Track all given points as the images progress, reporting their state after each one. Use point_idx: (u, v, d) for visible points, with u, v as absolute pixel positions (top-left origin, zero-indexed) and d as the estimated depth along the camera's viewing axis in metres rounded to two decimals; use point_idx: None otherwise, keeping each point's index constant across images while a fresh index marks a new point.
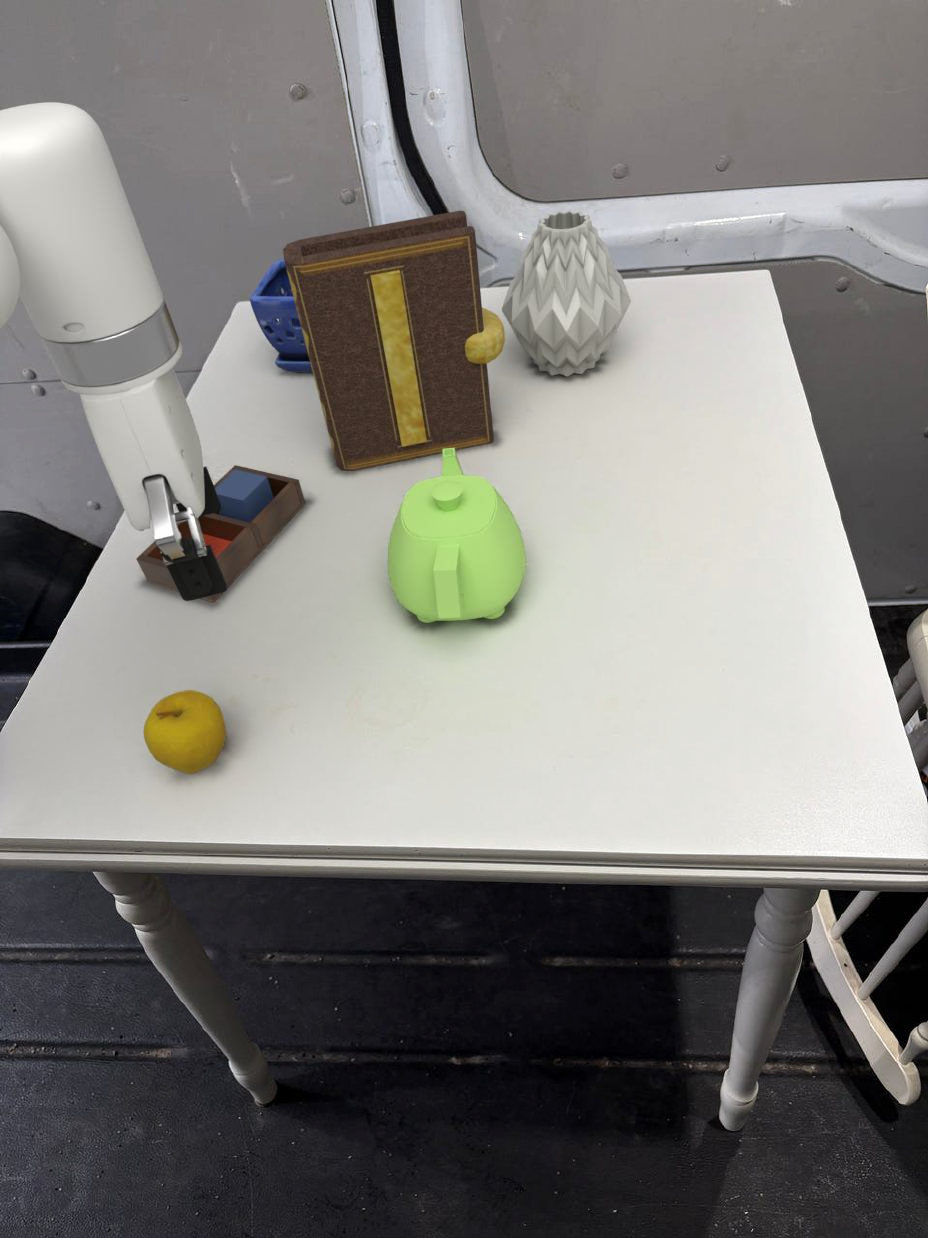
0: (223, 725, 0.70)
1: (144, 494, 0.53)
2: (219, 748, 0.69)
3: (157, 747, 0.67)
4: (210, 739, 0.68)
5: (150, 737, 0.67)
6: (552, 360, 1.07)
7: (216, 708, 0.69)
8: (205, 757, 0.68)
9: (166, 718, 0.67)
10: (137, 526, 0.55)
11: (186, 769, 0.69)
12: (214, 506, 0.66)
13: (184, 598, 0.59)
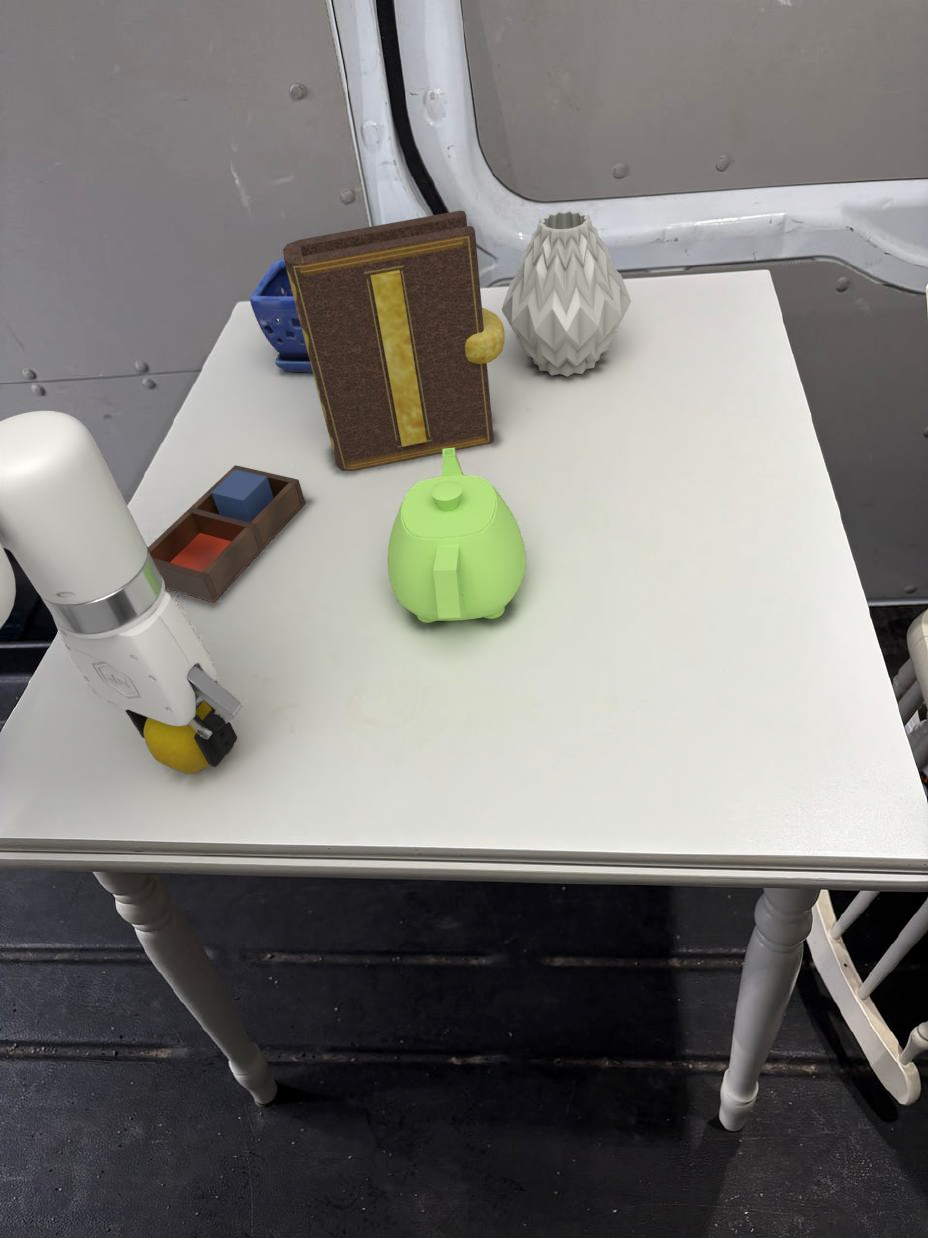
0: None
1: (190, 687, 0.61)
2: None
3: (157, 747, 0.67)
4: None
5: (150, 737, 0.67)
6: (552, 360, 1.07)
7: None
8: None
9: None
10: (187, 720, 0.62)
11: (186, 769, 0.69)
12: None
13: (214, 765, 0.68)
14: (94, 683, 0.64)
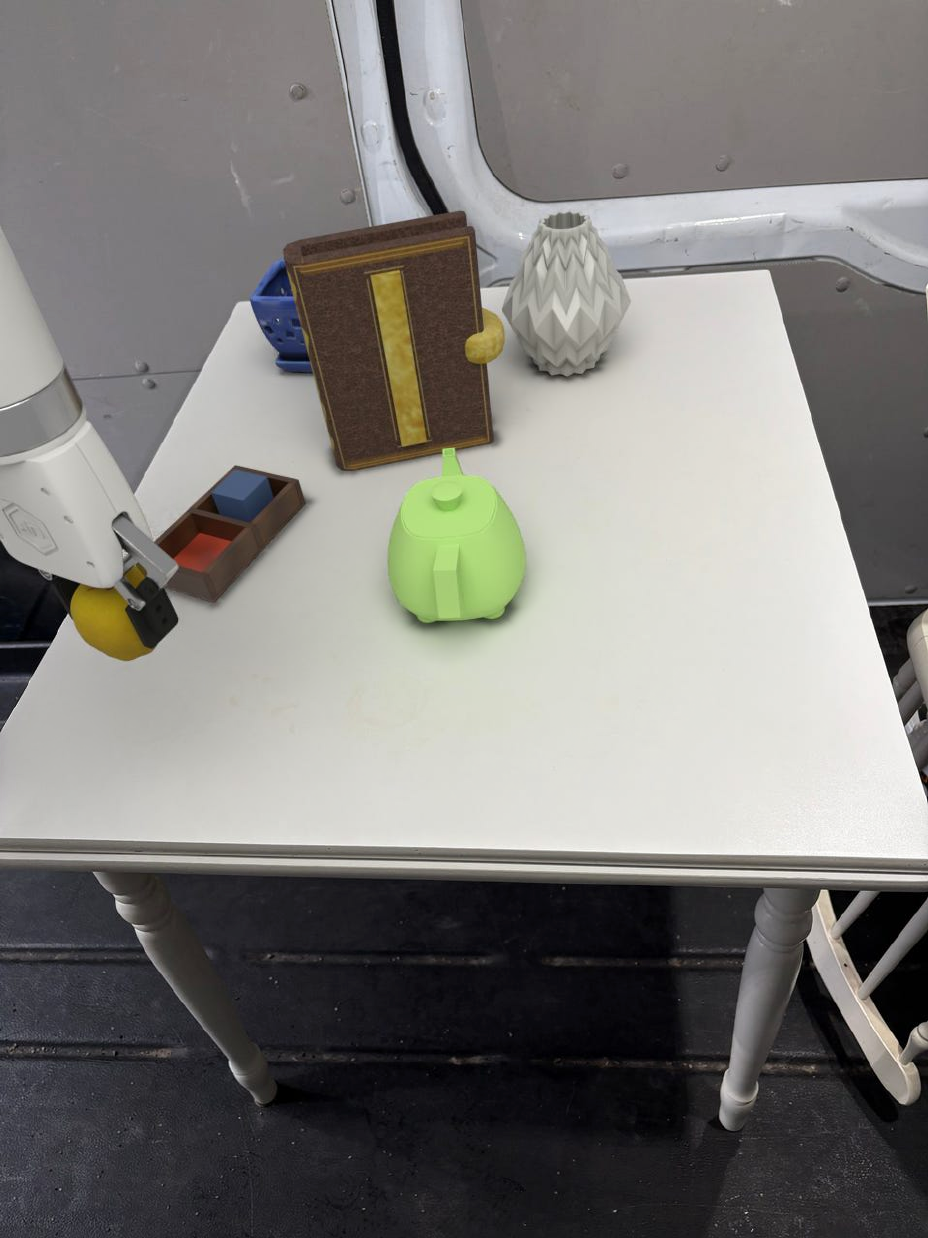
0: None
1: (115, 539, 0.52)
2: None
3: (84, 622, 0.58)
4: None
5: (77, 611, 0.58)
6: (552, 360, 1.07)
7: None
8: None
9: (95, 590, 0.58)
10: (113, 579, 0.53)
11: (119, 652, 0.60)
12: None
13: (150, 646, 0.59)
14: (9, 540, 0.55)
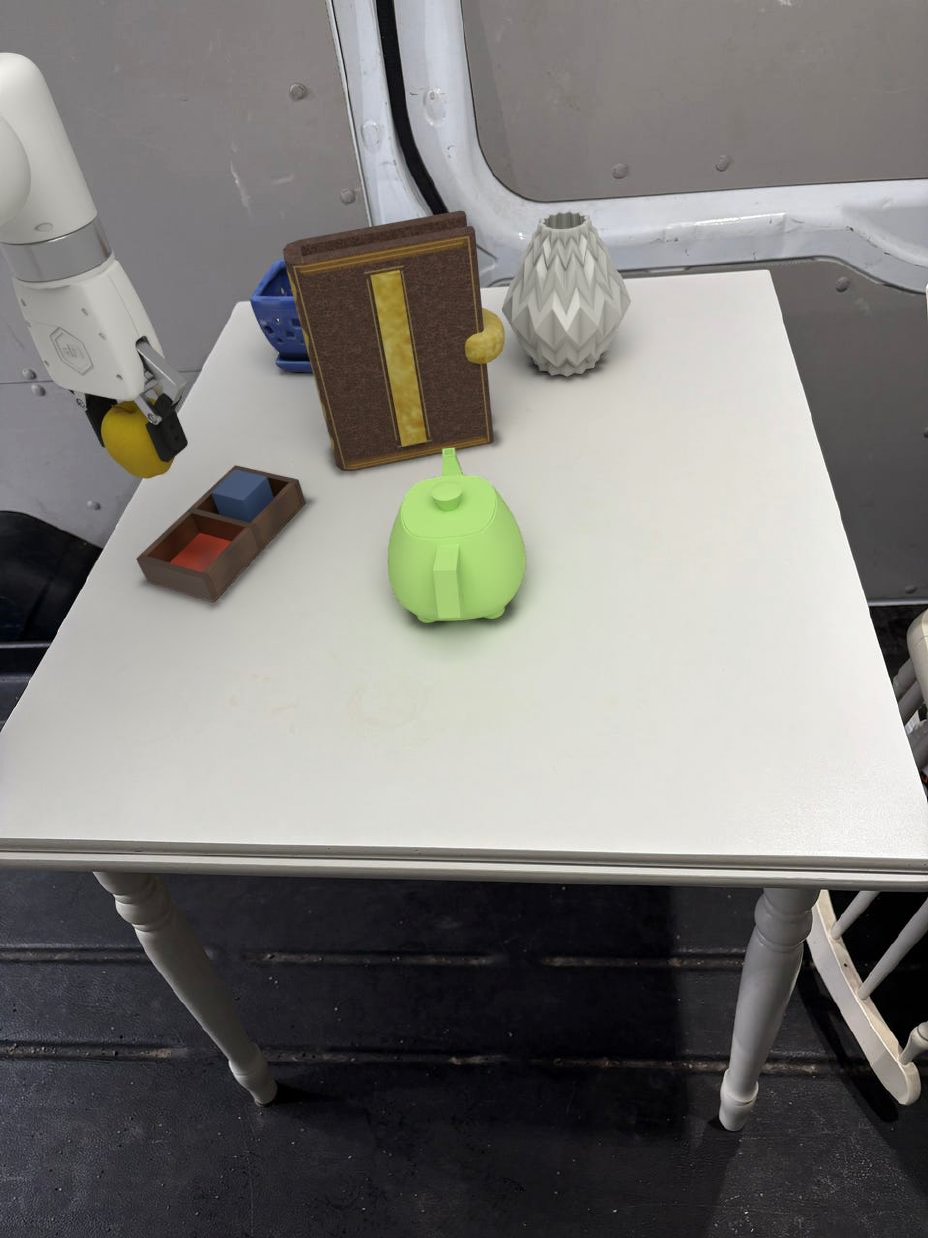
0: None
1: (138, 357, 0.67)
2: None
3: (113, 438, 0.73)
4: None
5: (107, 430, 0.73)
6: (552, 360, 1.07)
7: None
8: (157, 454, 0.74)
9: (121, 412, 0.73)
10: (136, 391, 0.68)
11: (140, 466, 0.75)
12: None
13: (165, 460, 0.74)
14: (53, 366, 0.70)
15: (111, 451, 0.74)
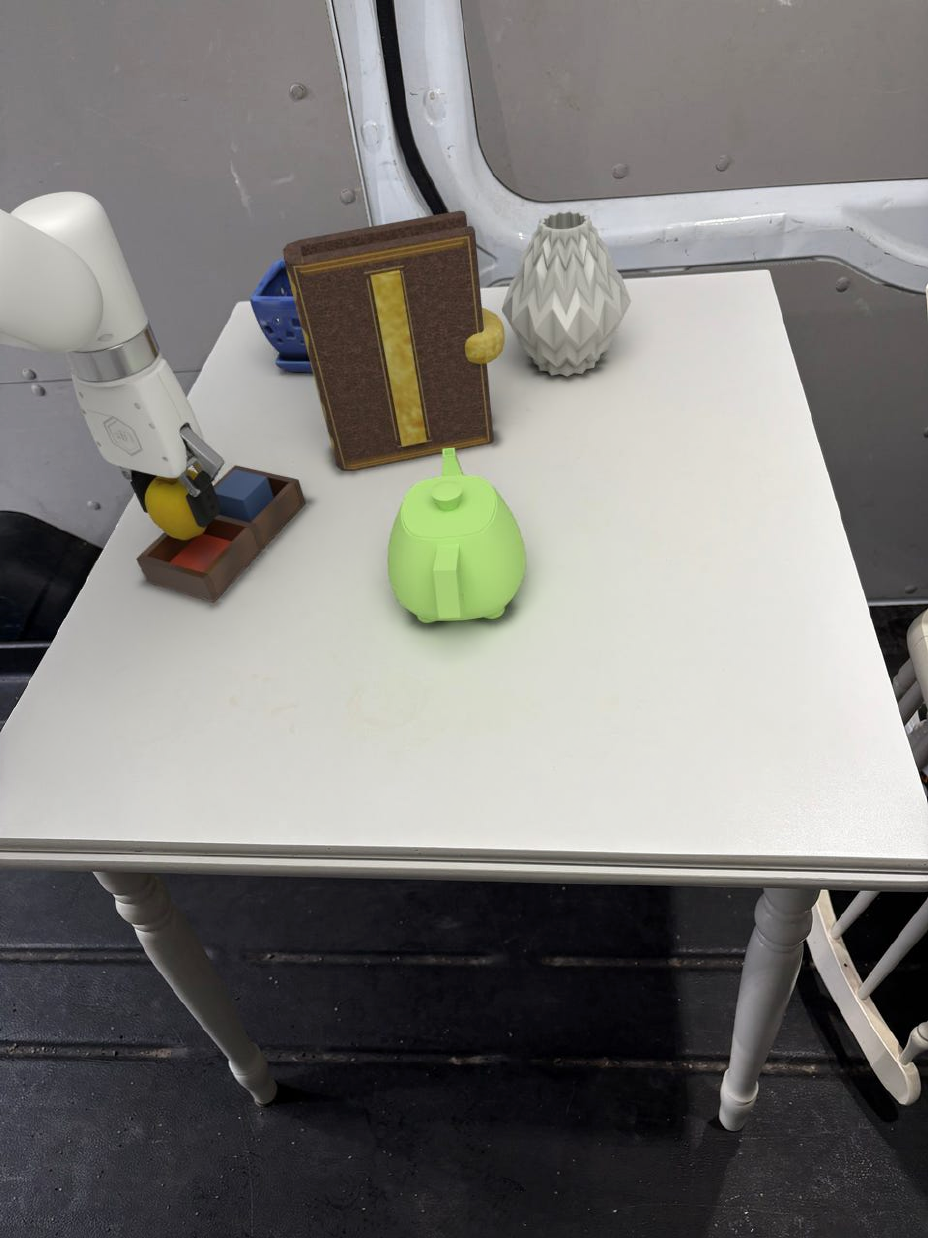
0: None
1: (181, 441, 0.76)
2: None
3: (156, 507, 0.82)
4: None
5: (150, 500, 0.82)
6: (552, 360, 1.07)
7: None
8: None
9: (163, 484, 0.82)
10: (180, 470, 0.77)
11: (180, 530, 0.84)
12: None
13: (202, 526, 0.83)
14: (105, 447, 0.79)
15: (154, 518, 0.83)
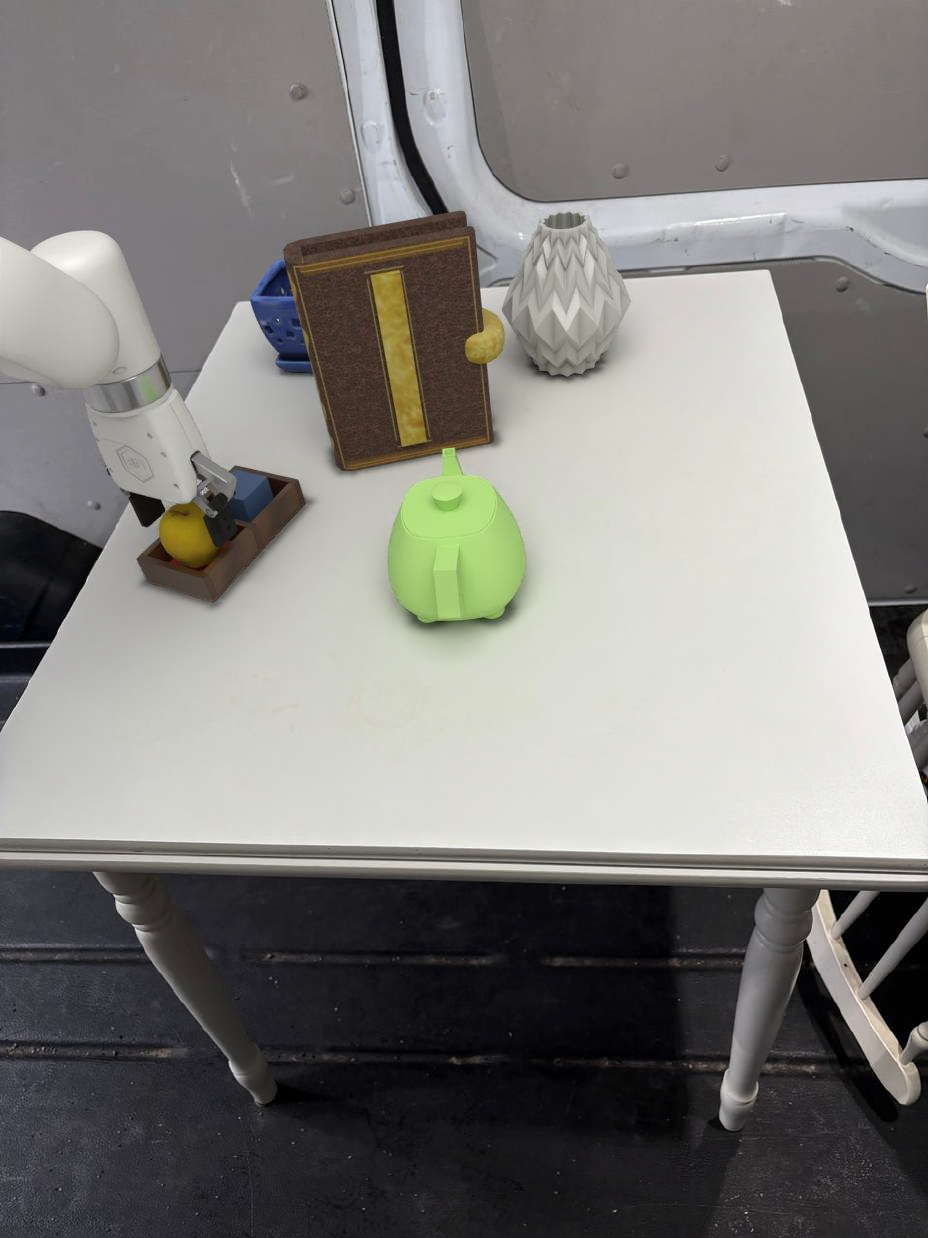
0: None
1: (192, 469, 0.78)
2: None
3: (169, 538, 0.85)
4: None
5: (164, 531, 0.85)
6: (552, 360, 1.07)
7: None
8: (207, 550, 0.86)
9: (176, 515, 0.85)
10: (190, 497, 0.79)
11: (192, 560, 0.86)
12: (162, 508, 0.89)
13: (219, 546, 0.84)
14: (117, 473, 0.81)
15: (167, 548, 0.86)
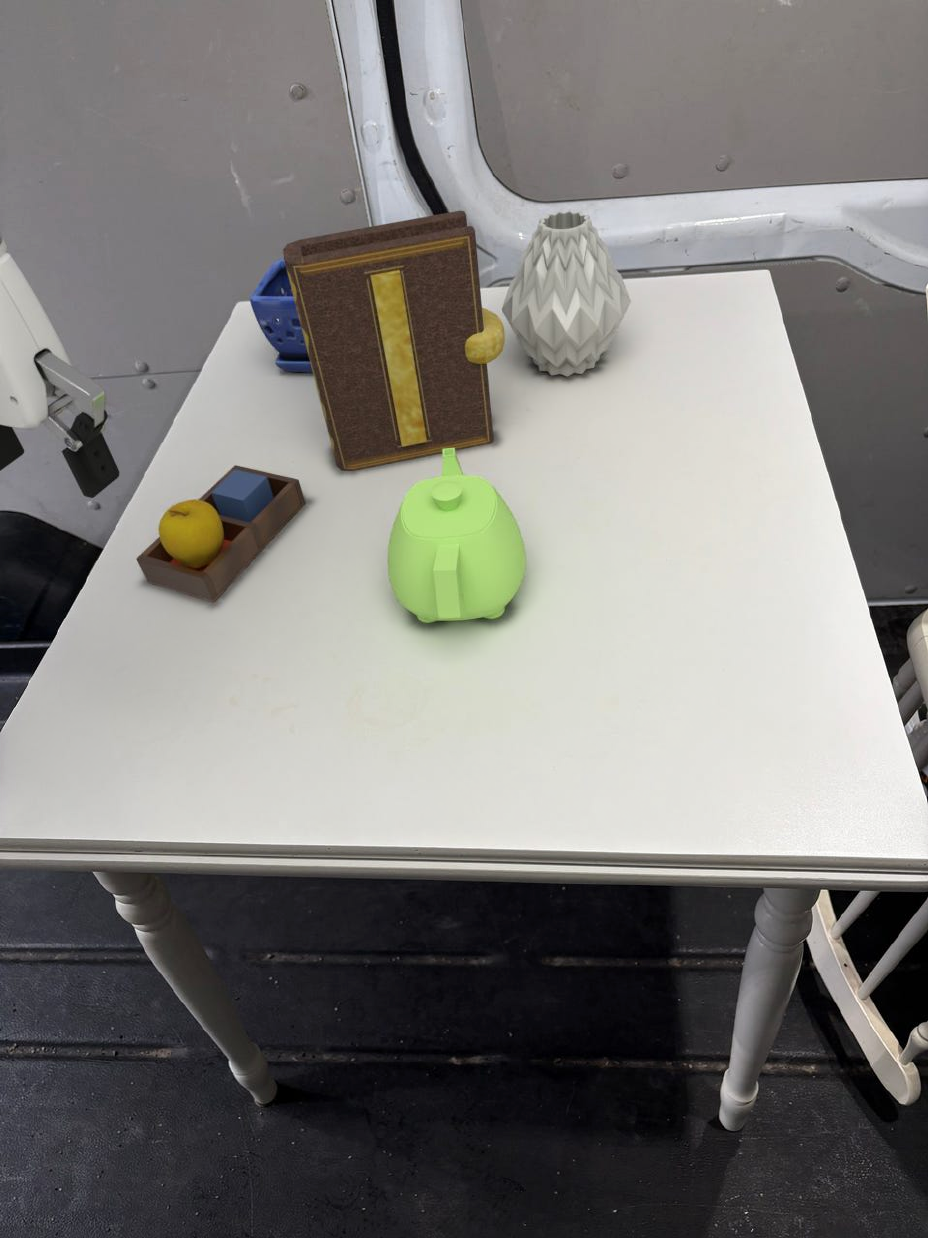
0: (221, 527, 0.87)
1: (38, 375, 0.53)
2: (218, 545, 0.87)
3: (169, 538, 0.85)
4: (212, 535, 0.86)
5: (164, 531, 0.85)
6: (552, 360, 1.07)
7: (216, 512, 0.87)
8: (207, 550, 0.86)
9: (176, 515, 0.85)
10: (37, 417, 0.54)
11: (192, 560, 0.86)
12: (18, 448, 0.64)
13: (90, 495, 0.59)
14: None
15: (167, 548, 0.86)
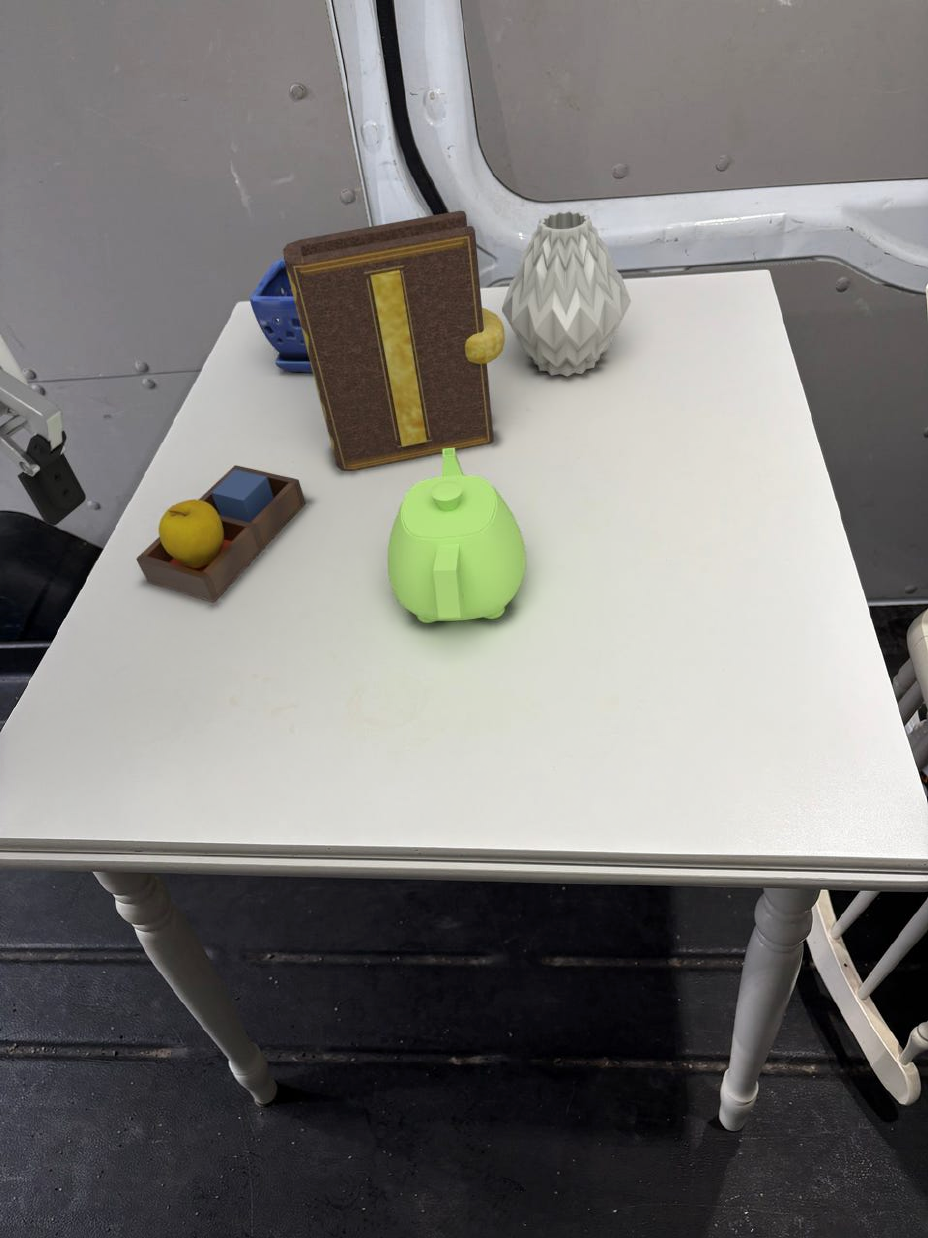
0: (221, 527, 0.87)
1: None
2: (218, 545, 0.87)
3: (169, 538, 0.85)
4: (212, 535, 0.86)
5: (164, 531, 0.85)
6: (552, 360, 1.07)
7: (216, 512, 0.87)
8: (207, 550, 0.86)
9: (176, 515, 0.85)
10: None
11: (192, 560, 0.86)
12: None
13: (52, 522, 0.54)
14: None
15: (167, 548, 0.86)
